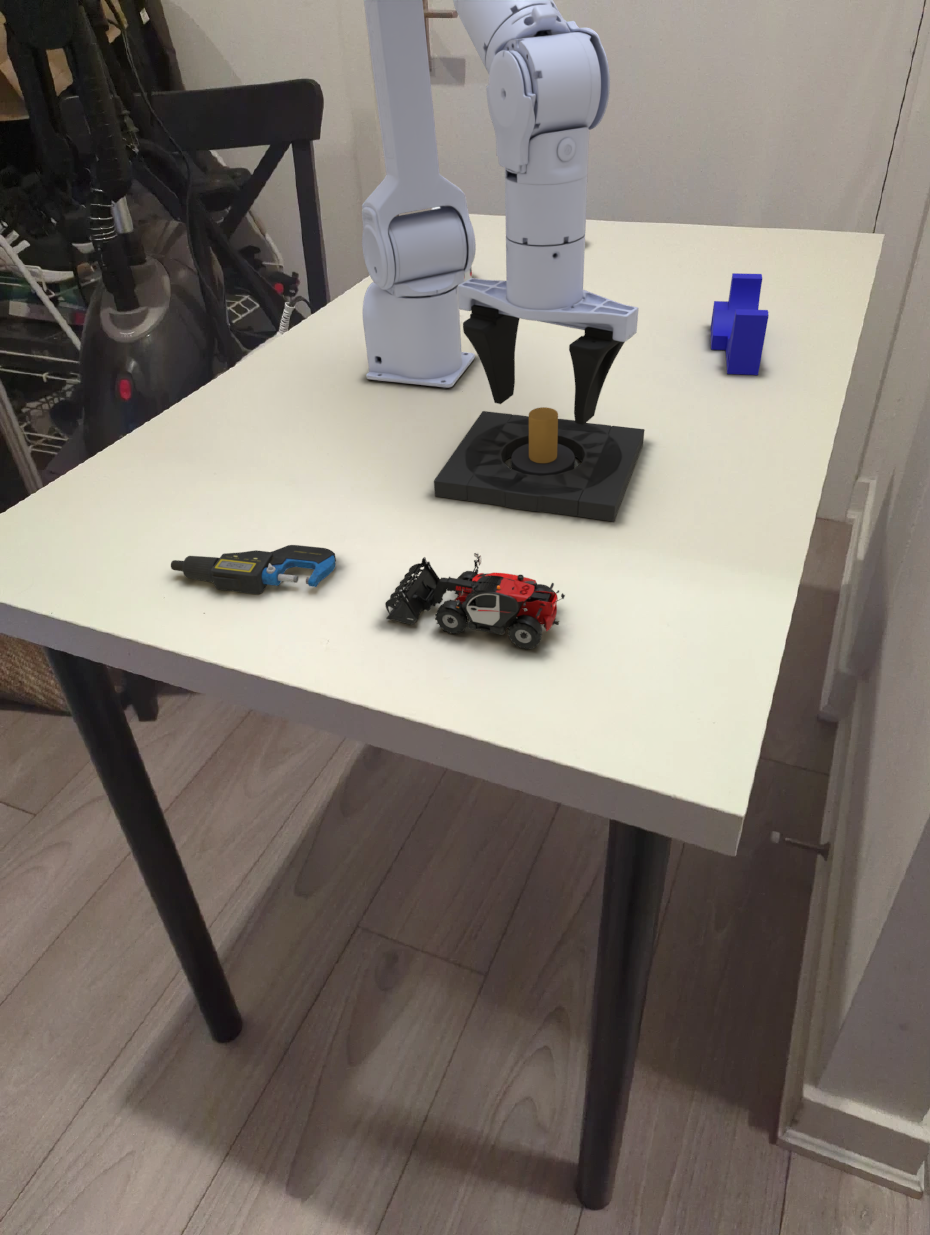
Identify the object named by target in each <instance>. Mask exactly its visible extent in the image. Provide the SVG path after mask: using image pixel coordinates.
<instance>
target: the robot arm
mask: <svg viewBox="0 0 930 1235" xmlns="http://www.w3.org/2000/svg"><path fill="white" fill-rule="evenodd" d="M423 2H424V1H423V0H363V5H364V14H365V20H366V29H367V35H368V36H367V37H368V44H369V52H370V59H371V66H372V74H373V84H374V91H375V98H376V105H377V113H378V122H379V129H380V136H381V144H382V149H383V150H382V152H383V159H384V167H385V176H384V178H383V180H381V182H380V183H379V184H378V185H377V186H376V188H375V189H374V190H373V191H372V192H371V193H370V194H369V195H368V196H367V198H366V199H365V200H364V202H363V203H362V204H361V208H362V210H361V218H362V219H361V220H362V235H361V247H362V254H363V255H362V256H363V260H364V264H365V268H366V270H367V272H368V275H369V277H370V279H371V280H372V282H371V283H370V284H369V285H368V287H367V289H366V291H365V293H364V297H363V301H362V302H363V303H362V325H363V333H364V341H365V349H366V357H367V364H368V372H367V373H366V376H365V377H366V379H367V380H370V381H371V380H372V381H383V382H390V383H399V384H408V385H409V384H410V385H421V386H428V387H438V388H453V386H454V385H455V384H456V382H457V381H458V380H459V379H460V377H461V376H462V375H463V374H464V372H465V371H466V370H467V369H468V367H469V366H470V365H471V364H472V362H473V361H474V360H475V358H476V355H477V356H478V358H479V360H480V362H481V365H482V368H483V370H484V373H485V377H486V379H487V381H488V382H487V383H488V386H489V389H490V392H491V395H492V399H493V402H494V404H498V405H502V404H503V403H504V402H506V401H507V400H509V399H510V398H511V397H513V396H514V390H515V385H516V384H515V383H516V362H515V356H516V343H517V336H518V330H519V323H520V319H521V320H526V321H533V322H539V323H540V322H541V323H545V324H551V325H556V326H560V327H565V328H570V329H576V330H581V331H584V333H583V334H584V335H581V336H579V337H578V338H576V339H575V340H573V341H572V342H570V344H569V346H568V351H569V354H570V355H569V356H570V359H571V363H572V368H573V376H574V404H573V406H574V408H573V414H574V420H575V423H577V424H581V425H584V424H585V423H588V422H589V421H590V420H591V419H592V418H594V417H595V413H596V410H597V406H598V401H599V398H600V395H601V393H602V390H603V386H604V384H605V381H606V378H607V376H608V374H609V372H610V369H611V368H612V366H613V364H614V361H615V360H616V358H617V356H618V354H619V353H620V351H621V349H623V348H622V347H623V346H624V344H625V343H626V342H627V341H628V340H630V339H631V338H632V337H634V336H635V335H636V334H637V332H638V320H639V307H638V306H633V305H630V304H624V303H621V302H618V301H616V300H613V299H610V298H606V296H605V297H604V296H603V295H599V294H597V293H594V292H591V291H589V290H586V289H584V278H585V277H584V276H585V274H584V273H585V252H586V251H585V250H586V228H587V207H588V206H587V202H588V201H587V200H588V181H589V180H588V178H589V155H590V154H589V153H590V152H589V151H590V131H591V130H594V129H595V128H596V127H597V126H598V125H599V124H600V123H601V121H602V120H603V118H604V116H605V114H606V111H607V108H608V104H609V100H610V91H611V73H610V72H611V71H610V66H609V61H608V60H609V59H608V57H607V53H606V50H605V48H604V46H603V43H602V40H601V38H600V35H599V34H598V32H596V31H595V30H594V29H592V28H591V27H586V26H585V27H579V26H578V25H577V23H576V21H575V20H569V21H567V20H566V19H565V18H564V17H563V14H562V13H561V12H560V10H559V8H558V6H557V5H556V3H555V1H554V0H452V3H453V6H454V9H455V11H456V12H457V15H458V17H459V19H460V21H461V23H462V25H463V27H464V29H465V32H466V33H467V35H468V37H469V38H470V41H471V43H472V45H473V47H474V48H475V50H476V52H477V54H478V56H479V59H480V60H481V62H482V64H483V66H484V68H485V70H486V72H487V74H488V85H486V87H485V88H486V89H485V90H486V99H487V107H488V112H489V116H490V120H491V123H492V127H493V130H494V135H495V145H496V146H495V147H496V149H495V150H496V157H497V158H498V165H499V166H500V167H502V168H504V205H505V206H504V208H505V210H504V212H505V265H506V266H505V268H506V269H505V270H506V272H505V275H506V280H497V279H496V280H495V279H482V278H476V277H472V278H471V279H469V280H467V281H465V282H464V273H466V272H468V271H469V270H470V268H471V266H473V263H474V261H475V257H476V250H477V247H476V245H477V244H476V235H475V230H474V226H473V223H472V221H471V218H470V213H469V207H468V202H467V196H466V194H465V192H464V191H463V190H462V189H461V188H460V187H459V186H458V185H456V184H455V183H453V182H452V181H450V180H449V179H448V178H446V177H445V176H443V175H442V174H441V172H440V164H439V163H440V162H439V152H438V143H437V142H438V141H437V133H436V123H435V113H434V104H433V103H434V101H433V93H432V82H431V81H432V80H431V73H430V71H431V70H430V63H429V62H430V61H429V53H428V43H427V42H428V41H427V33H426V23H425V12H424V3H423ZM434 207H440V208H439V209H433V210H432V208H434ZM421 210H422V211H421ZM416 211H417V212H416ZM411 212H412V213H411ZM459 284H460V285H459ZM460 310H461V311H465V312H471V313H470V314H469V318H467V319H465V320H464V321H463V323H462V332H463V334H464V335H465V336H466V338H467V340H468V341H469V342H470V344H471V346H472V347H473V349H474V350H475V352H476V354H475V353H474V352H467V351H463V350H462V333H461V315H460V314H461V313H460V312H461V311H460Z"/></svg>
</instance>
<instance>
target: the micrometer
mask: <svg viewBox="0 0 930 1235" xmlns="http://www.w3.org/2000/svg"><path fill="white" fill-rule="evenodd" d="M336 562H337V558H336V553H335V551H333V550H331V549H329V548H326V547H319V546H309V545H301V544H289V545H285V546H283V547H280V548H277V549H275V550H272V551H266V550H248V551H242V552H241V551H239V552H227V553H222V554H221V555H220V557H216V556H200V555H187V556H186V557H185V558H184V559H183V560H179V559H173V560H171V563H170V569H171V570H173V571H177V572H182V573H183V576H184V577H185V578H186V579H190V580H191V579H192V580H195V581H196V580H197V581H202V582H207V583H213V586H215V589H216V590H219V591H220V590H221V591H226V592H227V591H229V592H236V593H245V594H250V595H251V594H253V595H260V594H263V592H264V591H265V589H266V588H267V586H274V587H275V586H276V587H278V586H280V585H281V583H282V582H287V583H294V584H295V583H296V584H298V582H299V576H298V575H294V574H293V575H292V574H285V572H286V571H287V570H289V569H292V568H299V569H309V570H313V571H312V573H311V575H310V576H307V577H305V584H306V585H307V586H308V587H313V588H317V587H318V585H319V584H320V583H321V581H323V580H324V579H325V578H327V577H328V576H329V575H330V574H332V573H333V572H334V570H336V564H337V563H336Z"/></svg>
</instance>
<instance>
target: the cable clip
mask: <svg viewBox="0 0 930 1235" xmlns="http://www.w3.org/2000/svg"><path fill="white" fill-rule="evenodd" d="M730 280H731V281H730V286H729V287H730V288H729V293H728V294H729V295H728V301H727V300H726V301H724V300H722V301H721V300H714V301H713V305H712V313H711V320H710V322H711V323H710V350H716V351H725V364H726V375H747V376H759V371H760V366H761V360H762V355H763V350H764V344H765V339H766V332H767V327H768V322H769V317H770V316H769V310H768V309H759V307H760V305H759V304H760V298H761V292H762V291H761V290H762V285H763V284H762V283H763V274H762V273H737V272H736V273H735V272H734V273H731V279H730Z"/></svg>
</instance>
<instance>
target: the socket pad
mask: <svg viewBox="0 0 930 1235" xmlns="http://www.w3.org/2000/svg"><path fill="white" fill-rule="evenodd" d="M644 438H645V429H644V428H639V427H638V428H637V427H630V426H629V427H628V426H619V425H610V424H601V423H593V422H586V423H585V424H584V425H581V424H577V423H575V419H566V418H558V438H557V444H561V445H564V446H566V447H568V448H569V449H570V450H571V451H572V452H573V453H574V456H575V459H577V460H579V461H580V462H581V463H580V464H578V465H577V466H575V467H574V469H573V470H570V471H567V472H563V473H560V474H557V475H544V476H538V475H530V474H523V473H520V472H518V471H515V470H513V469H511V467H510V466H508V465H507V464H506V463H505V462H506V461H507V460H508V459H511V456H512V454H513V452H514V451H515V450H516V449H517V448H519V447H521V446H523V445H526V444H529V415H522V414H521V415H520V414H512V413H505V412H497V411H486V410H483V411H481V413H480V414H479V416H477V418H476V419H475V421H474V423H473V424H472V426H471V427H470V428H469V430H468V431H467V433H465V436H464V437H463V439H462V440H461V441H460V442H459V444H458V446H457V447H456V449H455V450H454V451H453V452H452V454H451V455H450V457H449V458H448V460H447V461H446V462H445V464H444V466H443V467H442V468H441V470H440V471H439V472H438V474H437V476H436V477H435V479H433V487H434V488H433V489H434V497H439V498H444V499H453V500H459V501H466V502H467V501H468V502H473V503H479V504H485V505H493V506H500V507H504V508H508V509H509V508H510V509H514V510H515V509H517V510H522V511H529V512H537V513H538V512H540V513H547V514H548V513H551V514H556V515H564V516H571V517H579V518H587V519H593V520H599V521H607V522H615V520H616V517H617V514H618V512H619V509H620V506H621V504H622V501H623V498H624V497H625V494H626V490H627V488H628V486H629V482H630V480H631V478H632V475H633V472H634V470H635V466H636V463H637V461H638V459H639V456H640V453H641V452H642V449H643V445H644V440H645V439H644Z"/></svg>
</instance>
